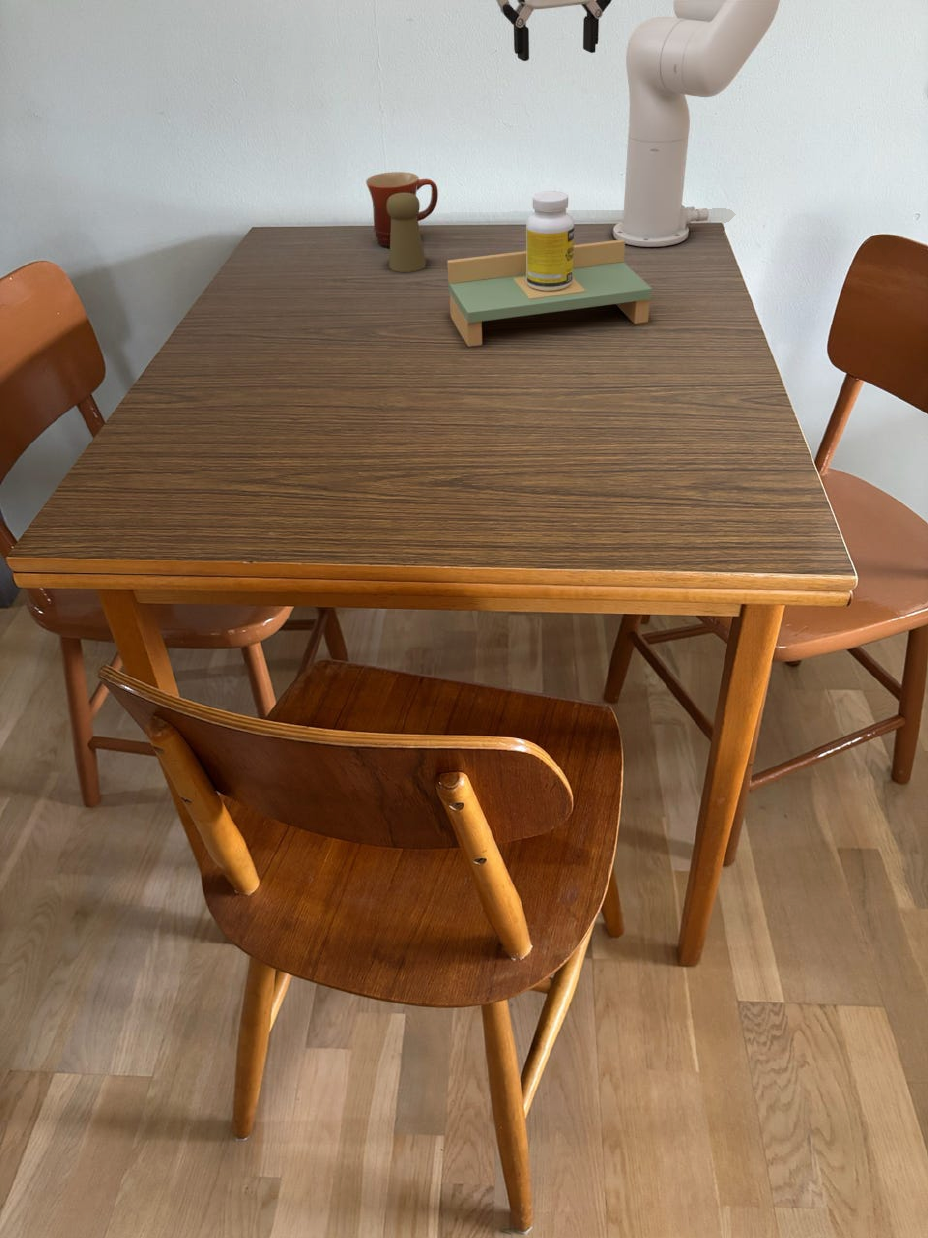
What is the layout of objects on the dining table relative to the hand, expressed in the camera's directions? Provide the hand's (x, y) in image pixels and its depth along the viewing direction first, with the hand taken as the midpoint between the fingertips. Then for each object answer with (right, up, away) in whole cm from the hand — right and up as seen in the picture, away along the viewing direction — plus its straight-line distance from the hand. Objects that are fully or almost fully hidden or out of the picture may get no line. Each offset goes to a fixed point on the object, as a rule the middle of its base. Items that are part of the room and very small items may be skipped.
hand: (556, 54), depth 133 cm
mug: (-23, -13, +33) cm, 42 cm away
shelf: (-1, -36, +4) cm, 36 cm away
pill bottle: (-1, -32, 0) cm, 32 cm away
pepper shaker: (-22, -21, +23) cm, 38 cm away
